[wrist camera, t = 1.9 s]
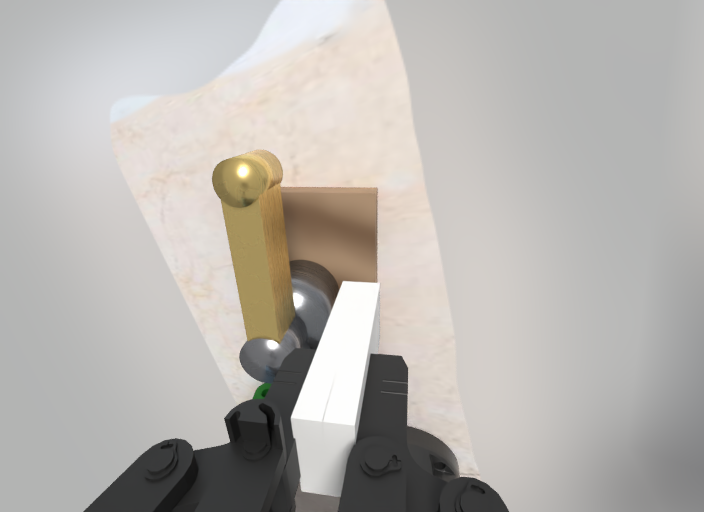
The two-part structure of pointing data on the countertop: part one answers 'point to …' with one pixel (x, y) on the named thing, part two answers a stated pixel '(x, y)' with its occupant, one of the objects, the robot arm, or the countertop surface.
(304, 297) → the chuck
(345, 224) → the stand
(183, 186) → the countertop surface
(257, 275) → the yellow bar
